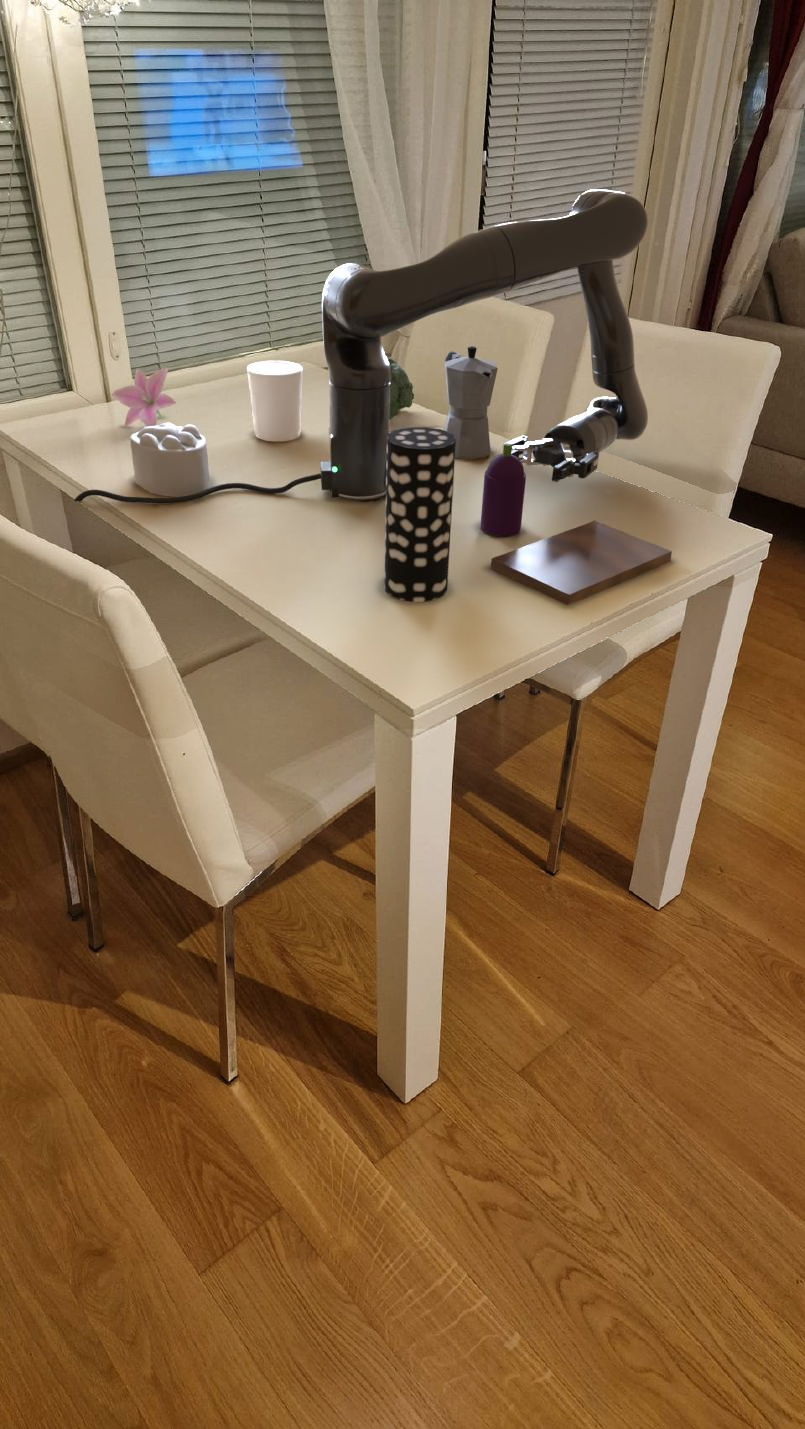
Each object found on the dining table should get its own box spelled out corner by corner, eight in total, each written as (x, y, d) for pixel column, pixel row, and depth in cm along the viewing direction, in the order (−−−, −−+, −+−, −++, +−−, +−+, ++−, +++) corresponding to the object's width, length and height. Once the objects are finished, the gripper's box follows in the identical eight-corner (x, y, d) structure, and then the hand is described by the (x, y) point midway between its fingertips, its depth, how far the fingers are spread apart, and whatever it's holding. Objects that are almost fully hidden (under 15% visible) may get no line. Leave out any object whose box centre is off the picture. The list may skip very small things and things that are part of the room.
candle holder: (315, 433, 182) (313, 366, 175) (282, 447, 175) (279, 378, 168) (273, 423, 186) (270, 357, 179) (239, 436, 179) (235, 368, 172)
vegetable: (439, 404, 191) (407, 386, 178) (390, 447, 196) (356, 432, 182) (406, 357, 193) (373, 335, 180) (359, 400, 198) (323, 382, 185)
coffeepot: (506, 459, 172) (516, 353, 162) (459, 466, 169) (465, 358, 159) (465, 433, 184) (472, 333, 174) (420, 439, 180) (424, 336, 170)
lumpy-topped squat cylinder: (183, 465, 165) (177, 414, 160) (225, 487, 157) (221, 434, 152) (127, 479, 159) (120, 426, 155) (168, 502, 151) (162, 447, 147)
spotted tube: (382, 574, 132) (384, 427, 121) (443, 573, 133) (451, 427, 122) (386, 602, 125) (389, 449, 114) (450, 601, 126) (460, 449, 115)
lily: (113, 422, 187) (96, 384, 179) (163, 389, 190) (148, 350, 182) (149, 456, 183) (133, 419, 174) (199, 422, 186) (186, 384, 177)
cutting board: (567, 605, 126) (569, 594, 125) (490, 568, 135) (491, 558, 134) (670, 561, 138) (672, 551, 138) (593, 529, 147) (594, 520, 146)
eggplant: (484, 537, 144) (490, 451, 137) (477, 521, 149) (483, 437, 142) (524, 536, 144) (533, 451, 137) (516, 520, 149) (524, 437, 142)
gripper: (538, 410, 160) (489, 435, 149) (619, 427, 154) (575, 454, 143) (534, 455, 165) (486, 482, 153) (612, 474, 158) (568, 503, 147)
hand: (529, 469), depth 148 cm, fingers open, 8 cm apart
